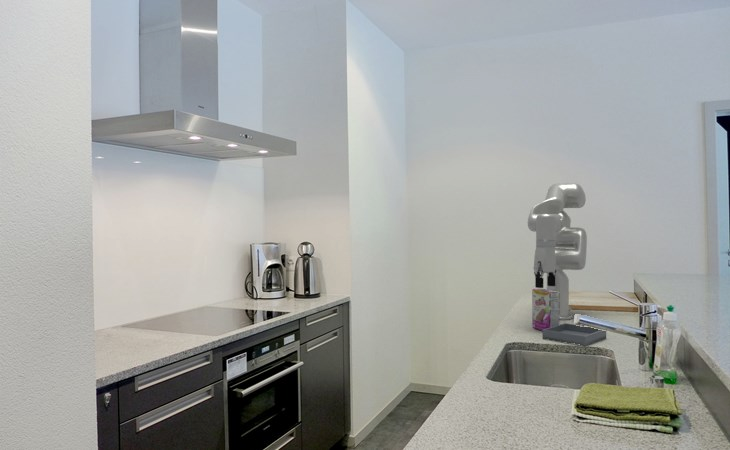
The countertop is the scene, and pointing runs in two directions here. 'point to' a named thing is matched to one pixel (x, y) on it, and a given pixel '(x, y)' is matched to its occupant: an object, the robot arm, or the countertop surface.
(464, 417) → the countertop surface
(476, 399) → the countertop surface
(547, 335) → the tray
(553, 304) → the candy bar box
